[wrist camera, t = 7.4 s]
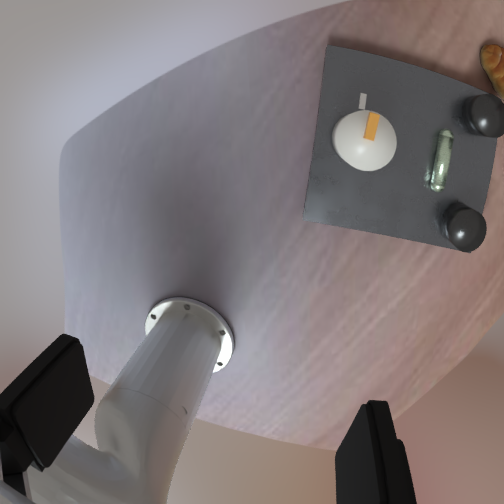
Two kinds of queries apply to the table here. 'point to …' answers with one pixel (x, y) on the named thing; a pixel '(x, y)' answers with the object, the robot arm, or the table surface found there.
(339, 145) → the oval dial with ridge
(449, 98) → the base
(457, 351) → the table surface
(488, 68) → the pastry
